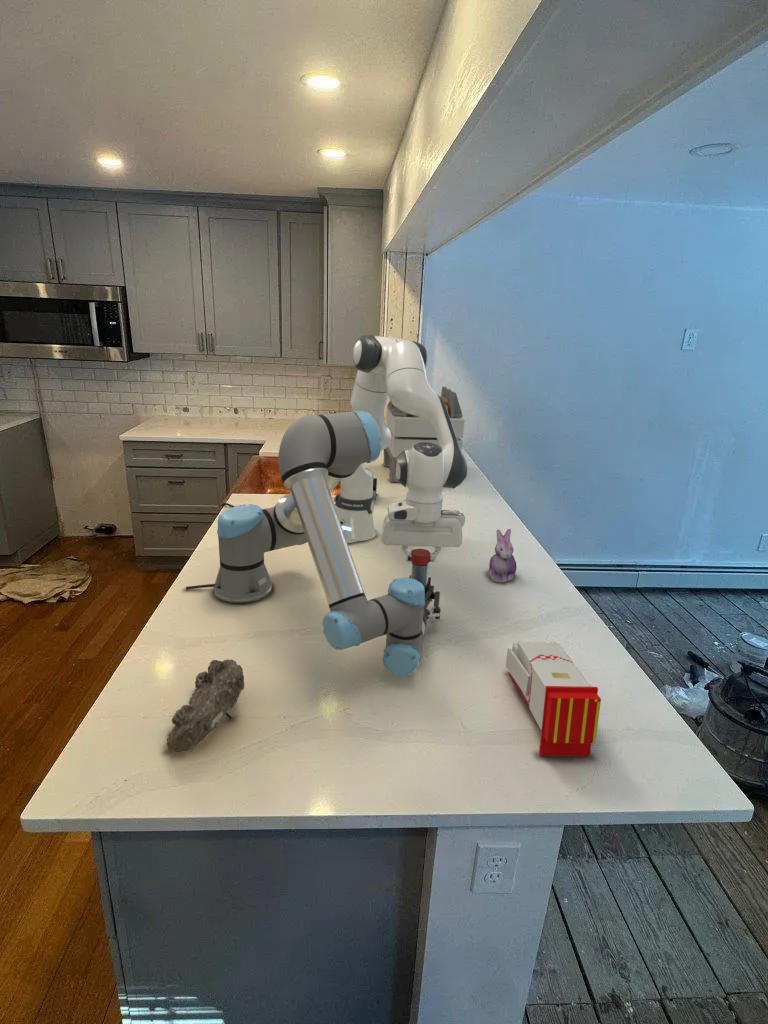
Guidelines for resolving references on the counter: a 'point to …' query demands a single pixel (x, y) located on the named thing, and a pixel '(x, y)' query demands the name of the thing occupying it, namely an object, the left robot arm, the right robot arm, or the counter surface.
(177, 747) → the fossil
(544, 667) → the toy
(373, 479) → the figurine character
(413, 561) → the lid
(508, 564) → the figurine
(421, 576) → the bottle
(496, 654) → the counter surface
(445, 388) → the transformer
